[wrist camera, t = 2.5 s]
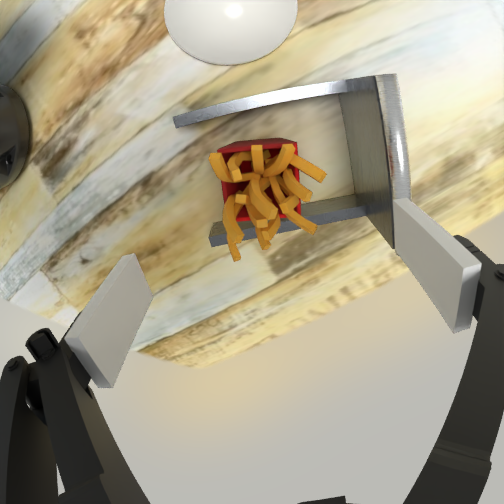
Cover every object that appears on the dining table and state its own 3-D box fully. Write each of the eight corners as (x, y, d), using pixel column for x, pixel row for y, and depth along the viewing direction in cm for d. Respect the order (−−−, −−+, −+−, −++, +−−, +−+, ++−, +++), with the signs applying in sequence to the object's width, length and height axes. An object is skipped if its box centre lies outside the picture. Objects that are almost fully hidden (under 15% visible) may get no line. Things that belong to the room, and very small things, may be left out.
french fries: (225, 133, 33) (203, 159, 20) (302, 127, 33) (332, 148, 20) (235, 209, 37) (221, 277, 24) (306, 203, 37) (333, 269, 24)
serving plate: (182, 80, 31) (180, 79, 30) (155, -24, 25) (153, -26, 24) (310, 51, 29) (311, 50, 28) (278, -53, 23) (279, -56, 22)
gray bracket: (216, 232, 39) (197, 298, 27) (181, 114, 32) (138, 126, 20) (368, 201, 37) (415, 254, 24) (349, 79, 30) (399, 73, 18)
